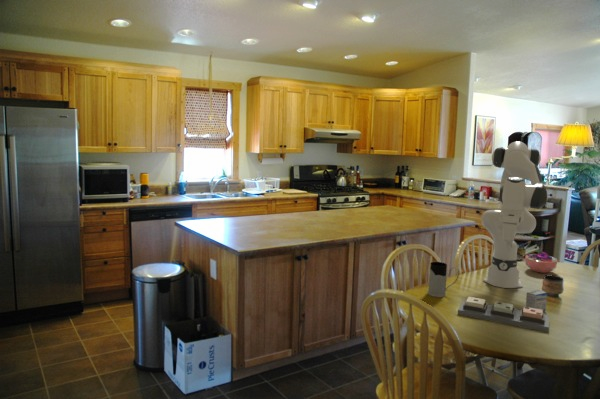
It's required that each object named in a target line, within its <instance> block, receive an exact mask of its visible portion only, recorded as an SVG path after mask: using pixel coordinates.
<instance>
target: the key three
mask: <svg viewBox="0 0 600 399" xmlns="http://www.w3.org/2000/svg"><path fill="white" fill-rule="evenodd" d="M522 309H523V316H526V317H532V318H537V319H542V314H543V313H544V312H543V310H541V309H535V308H530V307H526V306H523V308H522Z"/></svg>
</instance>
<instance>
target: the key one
mask: <svg viewBox="0 0 600 399" xmlns="http://www.w3.org/2000/svg"><path fill="white" fill-rule="evenodd" d="M466 299H467V301H466V305H468V306H473V307H478V308H484V306H485V302H486V299H484V298H477V297H473V296H468V297H467V298H466Z"/></svg>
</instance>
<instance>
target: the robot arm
mask: <svg viewBox="0 0 600 399" xmlns="http://www.w3.org/2000/svg"><path fill="white" fill-rule="evenodd" d="M541 159H542V158H541V154H540V151H539V150H538V149H536V148H532V147H531V148H529V147H528V146H527V144H526V143H524V142H522V141H520V140H519V141H517V140H516V141H513V142H511V143H509V144H508V146H507V147H503V146H501V147H497V148H495V149H494V151H493V152H492V154H491V161H492V162H491V163H492V164H493V167H496V168H499V169H500V168H503V172H502V173H501V174H502V175H501V179H500V187H499V194H498V197H499V198H498V201H499V202H500V203H501V207H500V209H488V210H485V211H484V212H483V213H482V215H481V219H480V220H481V221H480V222H481V225H482V227H484V229H486V231H488V232H489V235H490V236H491V238H492V242H493V256H492V257H491V264H490V265H489V266H488V269H487V270H488V271H487V276H486V277H485V278H483V280H482V281H483V282H485V283H487V284H489V285H491V286H494V287H498V288H504V289H516V288H523V284H522V282H521V280H520V278H521V277H520V270H519V269H518V268H517V266H518V259H517V256H518V243H517V242H516V241H515V238H516V235H517V234H531V233H533V231H534V230H535V229H536V226H537V219H536V218H535V216H534V215H533V214H532V213H531V212H530V211H529V210H528V209H527V208H531V209H537V210H539V209H541V208H543V207H545V206H546V205H547V202H548V199H549V198H548V197H549V195H548V191H547V187H546V186H545V184H544V181H543V178H542V174H541V171H540V168H539V166H540V163H541ZM526 180H527V181H530V184H526Z"/></svg>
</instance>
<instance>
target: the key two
mask: <svg viewBox="0 0 600 399" xmlns="http://www.w3.org/2000/svg"><path fill="white" fill-rule="evenodd" d="M493 304H494V311H500V312H505V313H510V314H512V311H513V308H514V304H512V303H507V302H506V303H505V302H501V301H496V300H495V302H494V303H493Z"/></svg>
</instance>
